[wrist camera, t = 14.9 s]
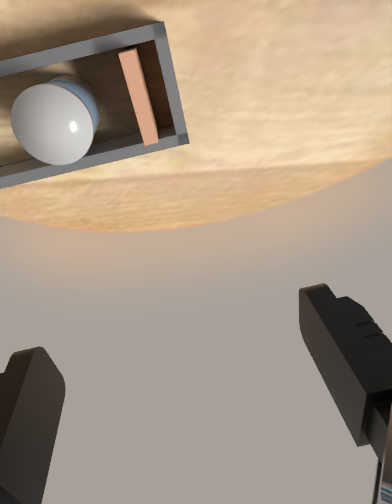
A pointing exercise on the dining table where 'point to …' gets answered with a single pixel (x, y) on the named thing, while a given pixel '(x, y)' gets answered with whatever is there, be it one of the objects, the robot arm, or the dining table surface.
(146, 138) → the block
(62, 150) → the jar
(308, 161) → the dining table surface
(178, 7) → the dining table surface
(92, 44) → the lane
